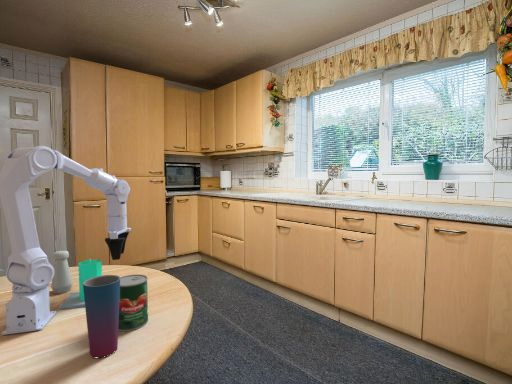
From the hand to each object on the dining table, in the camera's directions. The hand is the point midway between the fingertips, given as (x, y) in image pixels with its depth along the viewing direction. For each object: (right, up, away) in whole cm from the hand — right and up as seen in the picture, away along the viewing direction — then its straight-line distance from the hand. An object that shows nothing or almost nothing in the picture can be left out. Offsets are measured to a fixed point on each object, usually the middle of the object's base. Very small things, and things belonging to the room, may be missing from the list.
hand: (118, 256), depth 95 cm
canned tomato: (+15, -12, -23) cm, 30 cm away
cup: (+14, -12, -35) cm, 40 cm away
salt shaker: (-17, -11, -3) cm, 20 cm away
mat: (-5, -11, -10) cm, 15 cm away
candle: (-4, -10, -9) cm, 14 cm away
